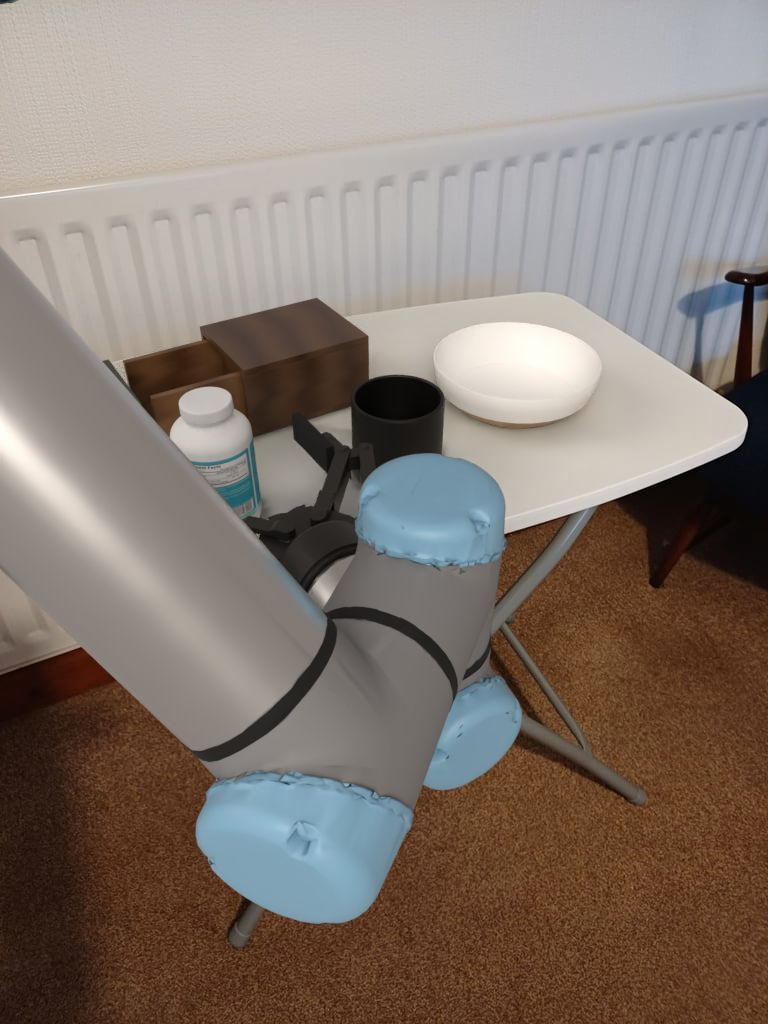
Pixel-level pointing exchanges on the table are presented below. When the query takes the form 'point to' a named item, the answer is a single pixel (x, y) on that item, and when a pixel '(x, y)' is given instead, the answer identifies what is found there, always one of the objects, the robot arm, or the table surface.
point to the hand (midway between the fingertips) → (226, 447)
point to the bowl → (516, 373)
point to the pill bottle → (220, 447)
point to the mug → (397, 417)
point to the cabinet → (293, 361)
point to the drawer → (178, 379)
